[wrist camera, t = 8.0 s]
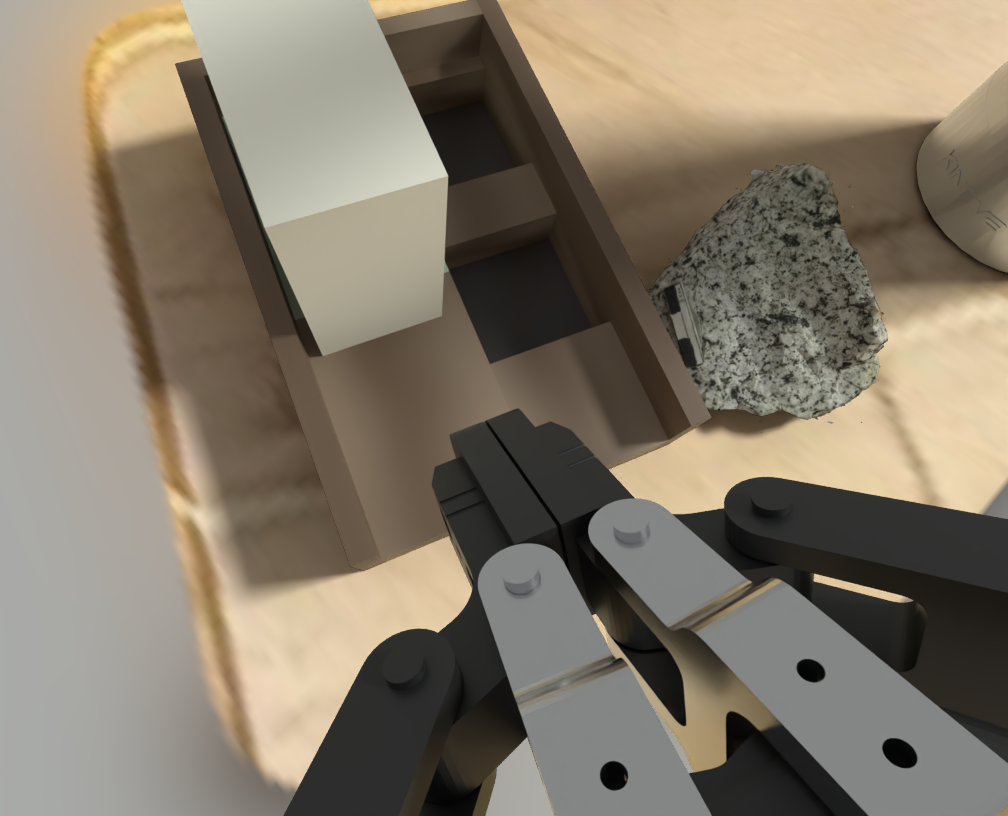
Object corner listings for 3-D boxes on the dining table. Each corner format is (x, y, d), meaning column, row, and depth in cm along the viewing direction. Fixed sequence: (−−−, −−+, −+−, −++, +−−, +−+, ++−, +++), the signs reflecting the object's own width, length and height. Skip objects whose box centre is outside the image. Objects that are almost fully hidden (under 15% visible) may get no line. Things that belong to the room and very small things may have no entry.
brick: (350, 103, 25) (316, -113, 17) (441, 316, 23) (448, 176, 15) (239, 131, 24) (149, -86, 16) (323, 356, 22) (264, 228, 14)
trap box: (485, 74, 28) (493, -6, 25) (667, 444, 24) (711, 417, 20) (212, 141, 26) (174, 63, 22) (364, 571, 22) (350, 566, 18)
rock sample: (573, 248, 22) (845, 138, 17) (623, 221, 28) (832, 135, 24) (666, 498, 24) (927, 456, 20) (693, 420, 31) (895, 376, 26)
